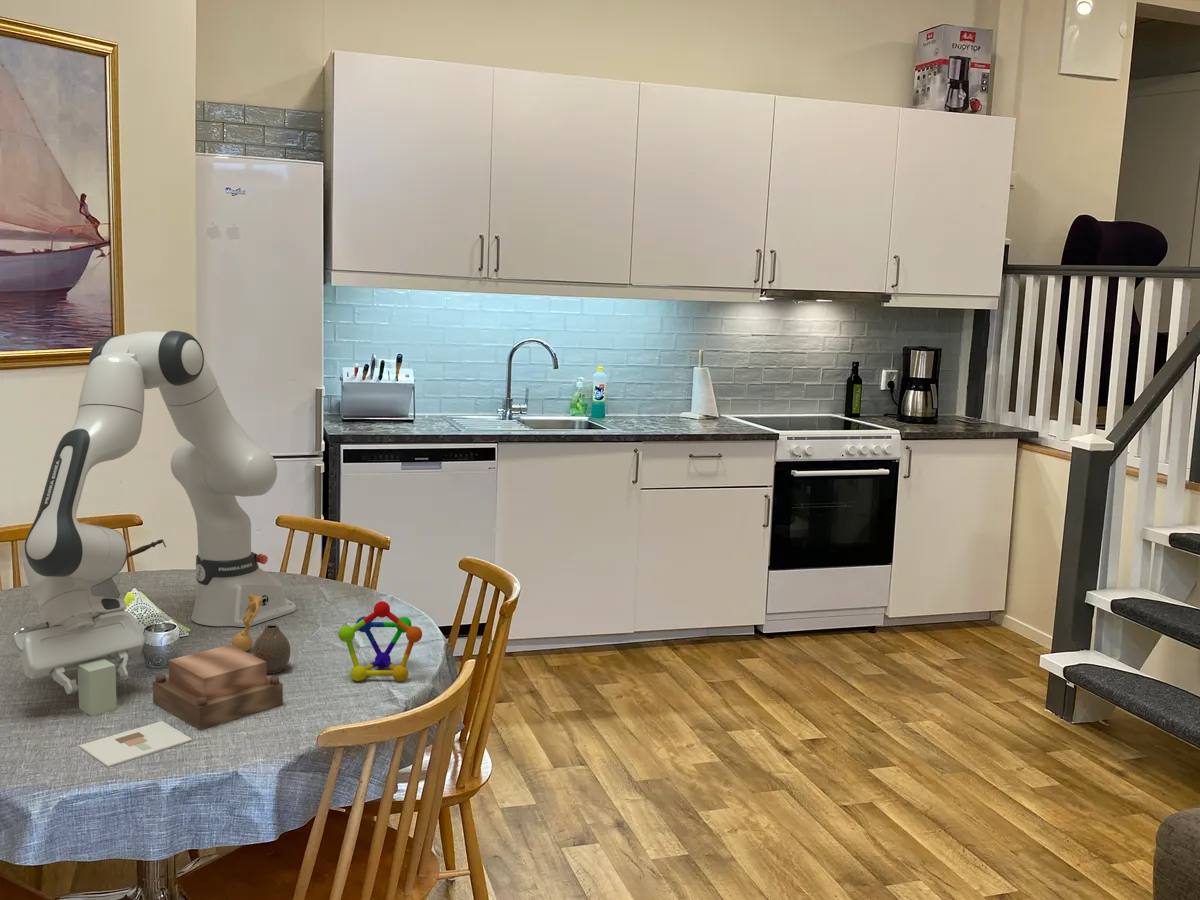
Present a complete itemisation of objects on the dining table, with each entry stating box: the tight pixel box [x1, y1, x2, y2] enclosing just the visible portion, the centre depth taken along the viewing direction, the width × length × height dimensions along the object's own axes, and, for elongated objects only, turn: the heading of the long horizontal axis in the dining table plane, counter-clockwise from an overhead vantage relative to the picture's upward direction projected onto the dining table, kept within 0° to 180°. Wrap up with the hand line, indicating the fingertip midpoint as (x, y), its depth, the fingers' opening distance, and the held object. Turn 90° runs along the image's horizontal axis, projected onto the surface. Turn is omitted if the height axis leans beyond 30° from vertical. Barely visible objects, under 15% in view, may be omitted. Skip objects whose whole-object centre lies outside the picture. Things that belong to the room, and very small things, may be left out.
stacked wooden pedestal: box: [152, 644, 284, 731], centre depth 195 cm, size 16×16×8 cm
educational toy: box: [337, 600, 423, 682], centre depth 212 cm, size 16×13×15 cm
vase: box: [252, 624, 291, 674], centre depth 212 cm, size 7×7×9 cm
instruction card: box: [78, 720, 193, 768], centre depth 178 cm, size 14×10×1 cm
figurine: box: [231, 594, 263, 652], centre depth 221 cm, size 8×6×12 cm
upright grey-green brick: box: [77, 658, 118, 717], centre depth 191 cm, size 4×4×8 cm
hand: (98, 685), depth 190 cm, fingers open, 7 cm apart
